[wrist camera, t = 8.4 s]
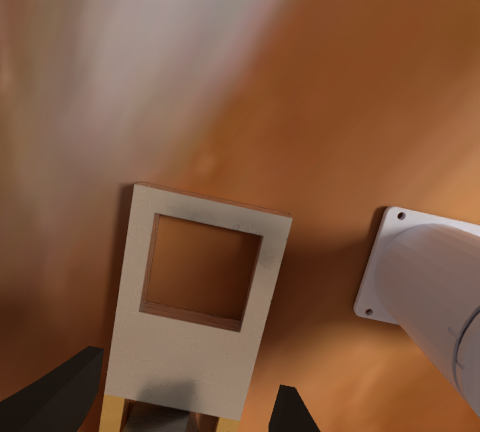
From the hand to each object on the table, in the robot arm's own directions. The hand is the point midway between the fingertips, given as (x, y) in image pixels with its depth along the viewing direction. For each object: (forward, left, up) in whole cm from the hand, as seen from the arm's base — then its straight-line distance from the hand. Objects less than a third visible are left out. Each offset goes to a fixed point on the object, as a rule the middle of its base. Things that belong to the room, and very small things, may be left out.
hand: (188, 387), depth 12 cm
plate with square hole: (+1, +6, -10) cm, 12 cm away
